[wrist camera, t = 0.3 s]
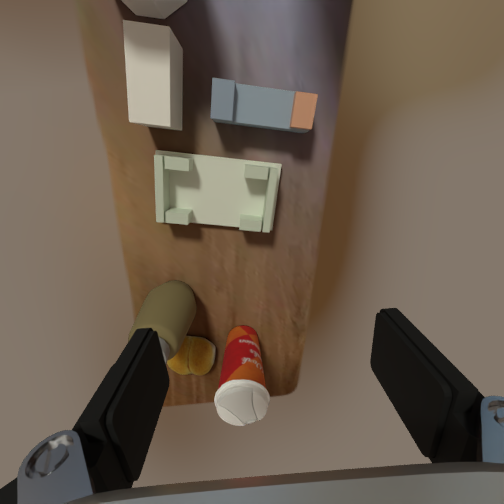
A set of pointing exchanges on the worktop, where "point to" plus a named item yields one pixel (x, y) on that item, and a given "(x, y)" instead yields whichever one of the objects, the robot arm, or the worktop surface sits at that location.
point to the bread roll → (193, 356)
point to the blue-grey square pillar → (262, 106)
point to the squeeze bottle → (168, 315)
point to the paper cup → (242, 379)
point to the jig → (215, 190)
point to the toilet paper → (154, 7)
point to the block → (153, 75)
